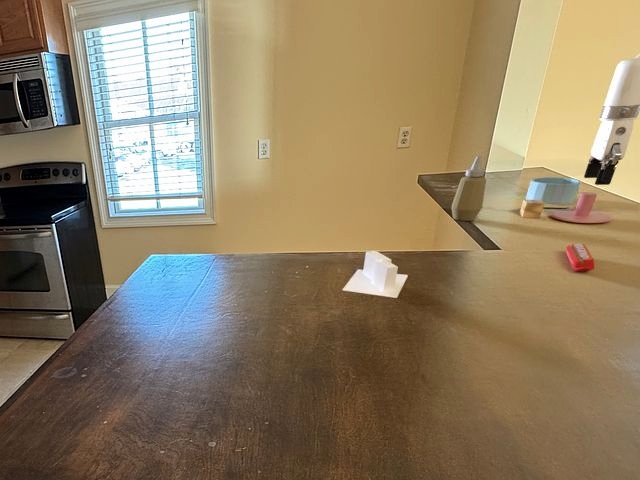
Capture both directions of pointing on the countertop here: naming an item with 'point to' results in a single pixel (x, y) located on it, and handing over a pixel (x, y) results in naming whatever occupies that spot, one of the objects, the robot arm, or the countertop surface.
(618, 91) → the robot arm
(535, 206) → the block
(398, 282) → the white building model
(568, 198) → the bowl
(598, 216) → the pink peg stand
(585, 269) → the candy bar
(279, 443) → the countertop surface
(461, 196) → the squeeze bottle
